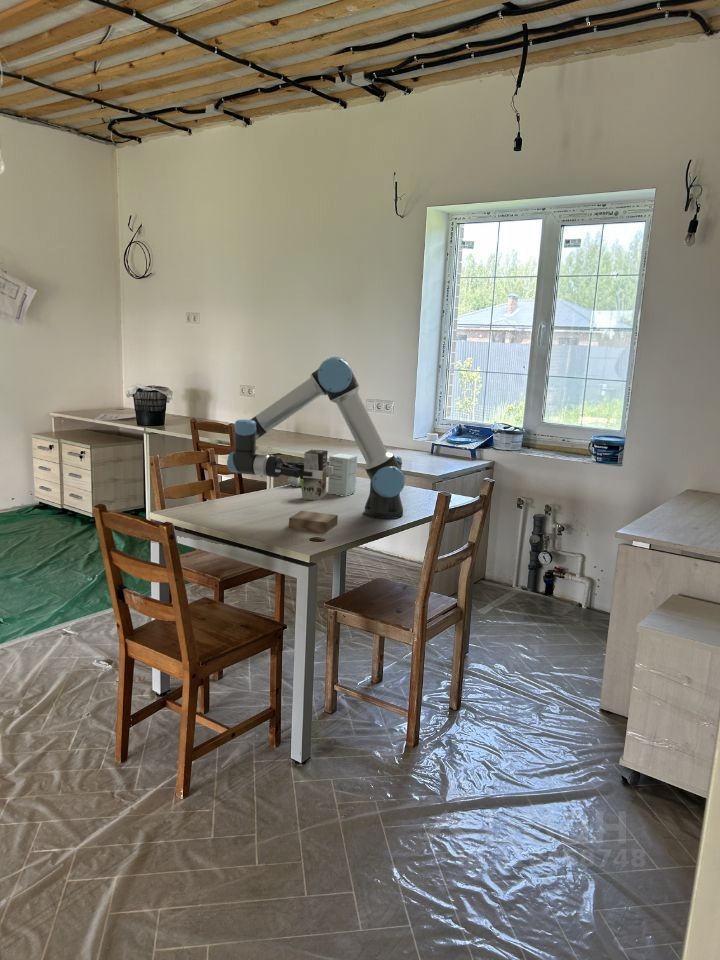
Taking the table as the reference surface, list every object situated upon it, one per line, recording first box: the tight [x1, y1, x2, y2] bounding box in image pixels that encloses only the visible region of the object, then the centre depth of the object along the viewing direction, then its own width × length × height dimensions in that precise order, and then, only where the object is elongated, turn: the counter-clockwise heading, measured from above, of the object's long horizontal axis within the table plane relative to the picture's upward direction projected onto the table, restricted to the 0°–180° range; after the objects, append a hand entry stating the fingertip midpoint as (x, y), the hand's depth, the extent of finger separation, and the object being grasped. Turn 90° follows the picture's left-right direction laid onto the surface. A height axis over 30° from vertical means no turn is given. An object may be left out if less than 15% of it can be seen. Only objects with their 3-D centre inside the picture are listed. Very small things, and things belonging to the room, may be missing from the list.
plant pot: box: [299, 476, 317, 501], centre depth 280 cm, size 9×9×9 cm
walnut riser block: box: [288, 510, 339, 533], centre depth 239 cm, size 14×12×4 cm
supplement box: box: [327, 453, 358, 497], centre depth 293 cm, size 10×9×17 cm
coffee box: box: [302, 449, 328, 501], centre depth 235 cm, size 9×6×16 cm
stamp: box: [286, 476, 301, 487], centre depth 304 cm, size 9×7×8 cm
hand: (327, 472), depth 234 cm, fingers closed on coffee box, 9 cm apart
